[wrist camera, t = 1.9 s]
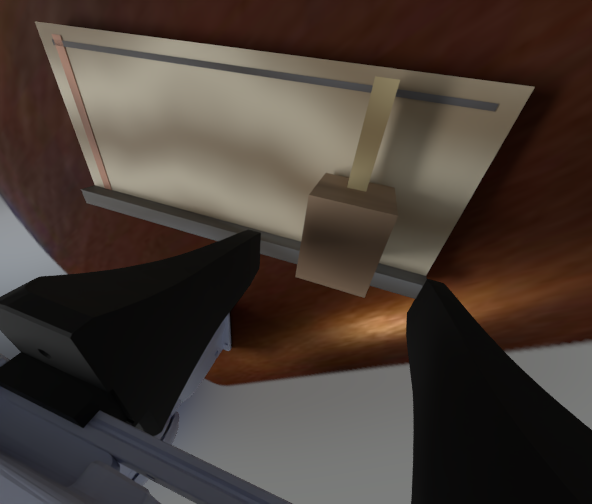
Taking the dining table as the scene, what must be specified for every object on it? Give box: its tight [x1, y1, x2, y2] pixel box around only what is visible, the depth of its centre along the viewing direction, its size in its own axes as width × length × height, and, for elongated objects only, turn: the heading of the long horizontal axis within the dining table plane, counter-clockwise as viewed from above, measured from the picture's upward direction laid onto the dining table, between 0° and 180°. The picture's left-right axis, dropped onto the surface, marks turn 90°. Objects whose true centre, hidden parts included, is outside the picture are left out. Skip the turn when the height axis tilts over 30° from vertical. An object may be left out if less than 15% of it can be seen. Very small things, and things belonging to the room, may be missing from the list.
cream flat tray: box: [35, 22, 535, 299], centre depth 16 cm, size 12×28×3 cm, turn 82°
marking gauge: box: [295, 76, 400, 298], centre depth 12 cm, size 10×4×4 cm, turn 172°
